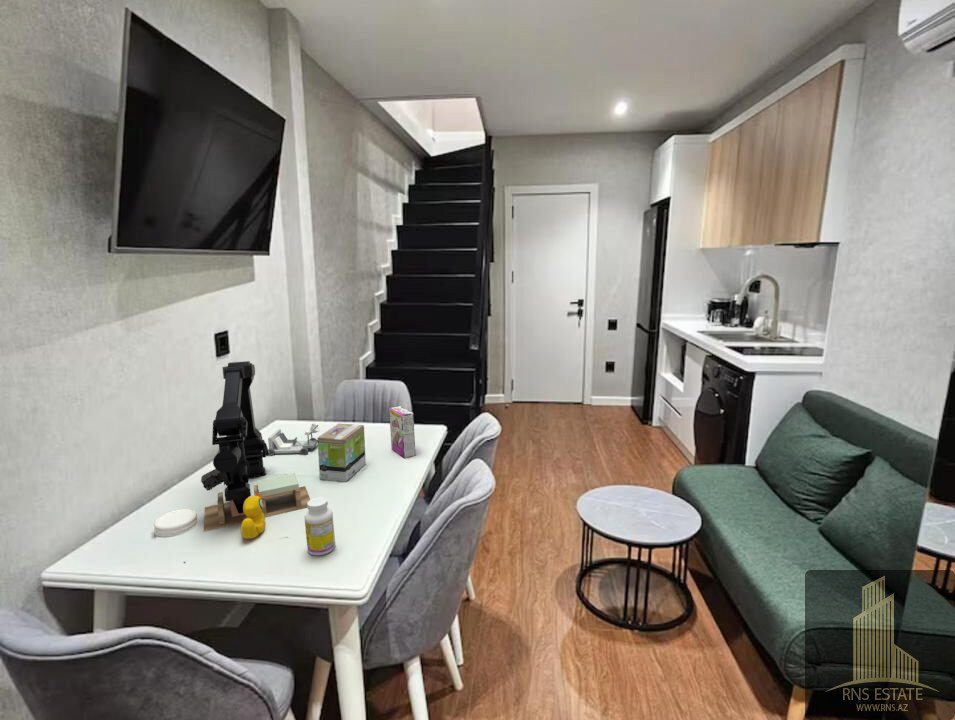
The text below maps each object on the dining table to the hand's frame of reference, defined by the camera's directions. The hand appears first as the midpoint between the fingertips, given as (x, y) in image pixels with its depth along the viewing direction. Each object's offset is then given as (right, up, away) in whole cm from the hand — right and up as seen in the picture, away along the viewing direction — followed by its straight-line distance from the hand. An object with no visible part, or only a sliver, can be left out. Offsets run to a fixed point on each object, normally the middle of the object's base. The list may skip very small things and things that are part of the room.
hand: (240, 509), depth 142 cm
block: (0, -1, 0) cm, 1 cm away
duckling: (+9, -4, -10) cm, 14 cm away
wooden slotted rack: (+5, -1, +3) cm, 5 cm away
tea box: (+22, +4, +27) cm, 35 cm away
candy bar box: (+40, +8, +42) cm, 59 cm away
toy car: (-2, +8, +48) cm, 49 cm away
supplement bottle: (+29, -5, -18) cm, 34 cm away
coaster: (-14, -4, -7) cm, 16 cm away
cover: (+9, +5, +4) cm, 11 cm away
